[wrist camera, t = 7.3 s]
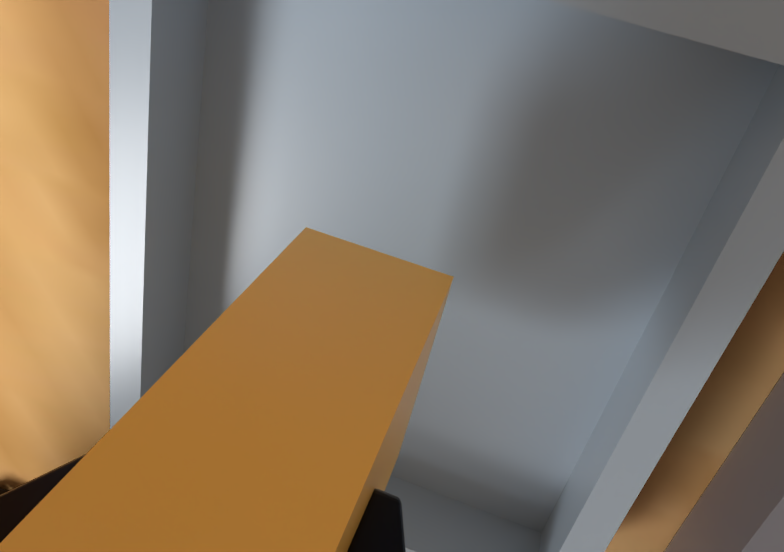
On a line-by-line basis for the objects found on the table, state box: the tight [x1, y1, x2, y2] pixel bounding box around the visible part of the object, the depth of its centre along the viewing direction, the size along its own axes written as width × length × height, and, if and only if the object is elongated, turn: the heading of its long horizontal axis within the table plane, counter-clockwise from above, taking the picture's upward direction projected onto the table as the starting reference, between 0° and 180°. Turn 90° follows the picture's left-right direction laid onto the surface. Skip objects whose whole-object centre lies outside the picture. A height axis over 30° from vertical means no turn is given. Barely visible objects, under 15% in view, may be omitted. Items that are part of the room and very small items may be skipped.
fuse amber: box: [0, 227, 454, 552], centre depth 9 cm, size 4×2×7 cm, turn 167°
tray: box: [109, 0, 784, 552], centre depth 14 cm, size 14×12×2 cm
